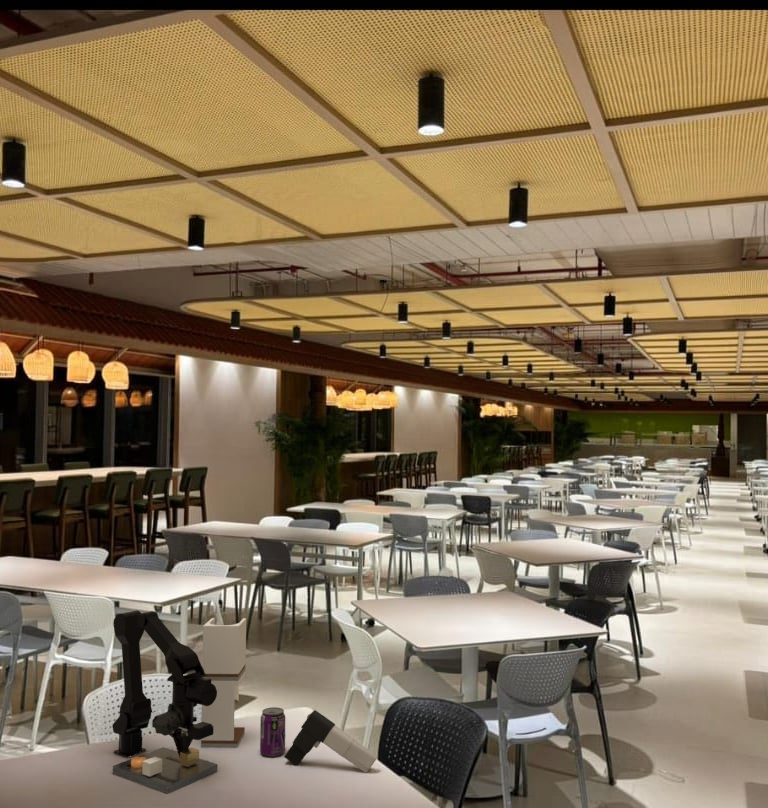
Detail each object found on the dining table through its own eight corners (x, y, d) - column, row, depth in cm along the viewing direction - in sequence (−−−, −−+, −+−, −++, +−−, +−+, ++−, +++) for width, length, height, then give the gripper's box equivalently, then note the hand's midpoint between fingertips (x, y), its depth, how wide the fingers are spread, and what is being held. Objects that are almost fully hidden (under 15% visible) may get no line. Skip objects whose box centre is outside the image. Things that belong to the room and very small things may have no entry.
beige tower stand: (237, 747, 231) (239, 626, 233) (200, 747, 231) (203, 625, 233) (244, 734, 242) (246, 618, 245) (210, 733, 243) (212, 618, 245)
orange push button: (127, 771, 212) (127, 760, 212) (139, 767, 216) (140, 755, 216) (137, 775, 210) (137, 763, 210) (149, 770, 213) (149, 758, 213)
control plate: (112, 773, 212) (112, 765, 212) (163, 754, 226) (163, 746, 226) (167, 793, 199) (167, 785, 200) (217, 771, 213) (217, 763, 213)
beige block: (142, 773, 206) (142, 761, 206) (154, 768, 209) (154, 756, 209) (149, 776, 204) (150, 763, 204) (162, 771, 207) (162, 759, 208)
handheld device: (288, 752, 222) (313, 706, 221) (353, 799, 217) (379, 753, 216) (283, 757, 218) (308, 711, 218) (349, 805, 213) (376, 758, 212)
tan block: (180, 764, 212) (180, 752, 213) (191, 759, 216) (191, 747, 216) (187, 766, 211) (187, 754, 211) (199, 762, 214) (199, 750, 214)
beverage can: (280, 758, 223) (280, 715, 223) (256, 756, 224) (257, 713, 225) (288, 749, 230) (288, 707, 230) (265, 747, 231) (265, 705, 232)
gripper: (136, 700, 215) (135, 759, 214) (183, 713, 204) (182, 775, 203) (169, 690, 224) (168, 747, 223) (215, 702, 213) (214, 761, 212)
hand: (182, 757), depth 215 cm, fingers closed
